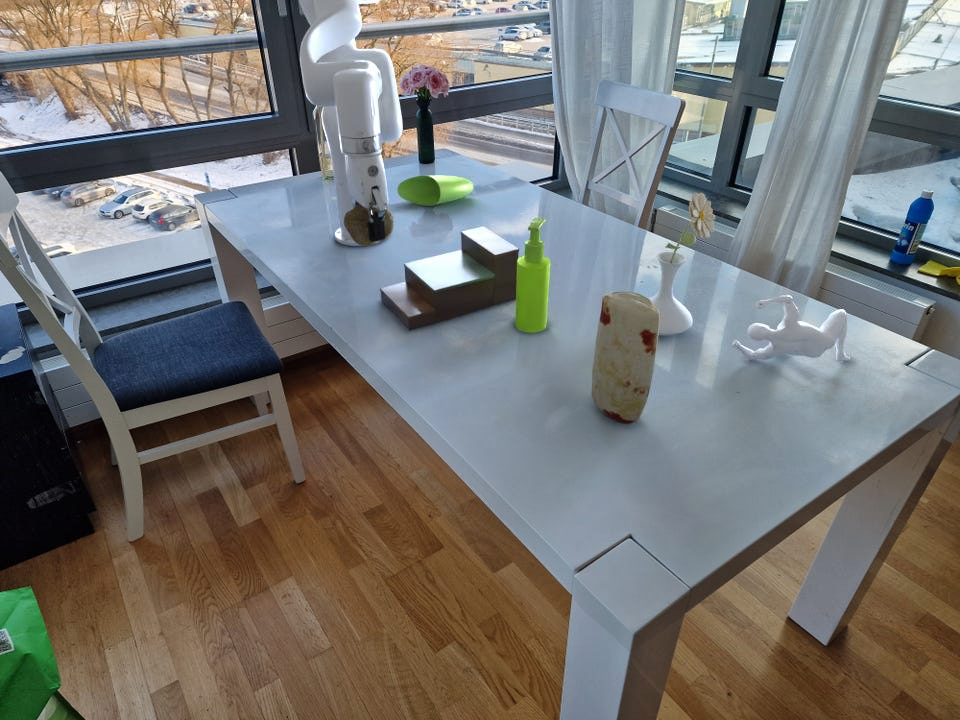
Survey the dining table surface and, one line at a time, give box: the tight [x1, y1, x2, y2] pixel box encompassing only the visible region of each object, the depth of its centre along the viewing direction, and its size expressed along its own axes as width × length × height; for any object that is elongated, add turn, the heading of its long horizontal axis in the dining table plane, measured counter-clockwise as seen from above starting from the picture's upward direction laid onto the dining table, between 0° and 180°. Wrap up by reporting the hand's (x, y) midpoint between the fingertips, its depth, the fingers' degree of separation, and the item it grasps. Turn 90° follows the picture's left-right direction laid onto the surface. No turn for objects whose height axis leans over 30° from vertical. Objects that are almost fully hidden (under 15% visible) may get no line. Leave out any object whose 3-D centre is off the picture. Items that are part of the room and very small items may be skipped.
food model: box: [590, 291, 660, 425], centre depth 91 cm, size 10×7×20 cm
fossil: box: [344, 202, 395, 247], centre depth 127 cm, size 9×4×10 cm
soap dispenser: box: [514, 217, 551, 334], centre depth 114 cm, size 6×7×20 cm
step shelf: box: [379, 225, 520, 331], centre depth 124 cm, size 13×24×11 cm, turn 121°
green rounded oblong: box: [396, 175, 474, 206], centre depth 173 cm, size 8×12×20 cm
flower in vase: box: [647, 192, 716, 336], centre depth 112 cm, size 13×11×25 cm
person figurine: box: [731, 295, 852, 362], centre depth 106 cm, size 13×13×18 cm
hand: (370, 232), depth 127 cm, fingers closed on fossil, 6 cm apart
